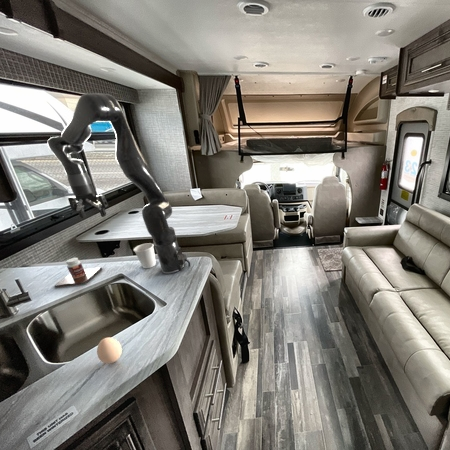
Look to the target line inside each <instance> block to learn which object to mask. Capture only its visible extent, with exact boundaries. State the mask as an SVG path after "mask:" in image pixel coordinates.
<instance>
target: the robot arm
mask: <svg viewBox="0 0 450 450" xmlns="http://www.w3.org/2000/svg"><path fill="white" fill-rule="evenodd" d="M97 122H99V123H102V122H103V123H105V122H109V124H110V125H111V127H112V129H113V131H114V134H115V138H116V139H115V153H114V154H115V160H116V162H117V164H118V166H119V167H120V169H121V171H122V173H123V174H124V176H125V177H126V178H127V179H128V180H129V181H130V182H131V183H132V184H134V185H135V186H136V187H137V188H138V189H140V190H141V192H142V193H143V194H144V196H145V198H146V199H147V202H148V204H146V205H145V206H143V207H142V209H141V210H142V211H141V216H142V219H143V222H144V225H145V228H146V230H147V232H148V234H149V235H150V236H151V239H152V242H153V245H154V246H153V247H154V250H155V252H156V255H157V258H158V261H159V265H160V269H161V272H162V274H166V275H169V274H175V273H177V272H181V271H182V270H183V268H184V267H185V265H186V262H187V264H188V265H187V267H188V268H191V262H190V260H189V259H188V258H187V253H183V250H182V248H181V246H179V243H178V239H177V234H176V231H175V228H174V227H173V226H169V224H168V221H167V220H168V219H169V218H170V217H172V214H173V207H172V205H171V203H170V201H169V200H168V198H167V197H166V195H165V194H164V192H163V191H162V189H161V187H160V186H159V184H158V182H157V180H156V177H155V176H154V175H153V173H152V171H151V168H150V167H149V164H148V162H147V160H146V158H145V156H144V155H143V153H142V151H141V149H140V147H139V145H138V144H137V141H136V139H135V137H134V135H133V133H132V131H131V128H130V126H129V123H128V121H127V118H126V116H125V113H124V111H123V109H122V106H121V105H120V103H119V101H118V100H117V99H116V98H115V96H114V95H111V94H110V93H92V92H91V93H85V94H82V95H81V96H80V97H79V98H78V100H77V103H76V106H75V109H74V111H73V114H72V117H71V119H70V122H69V123H68V124H67V125H66V127H65V128H64V129H63V130H62V132H61V136H52V137H50V138H49V139H48V140H47V146H48V149H49V150H50V151H51V152H52V153H53V155H54V156H55V158H56V159H57V160H58V161H59V163H60V164H61V165H62V167H63V170H64V173H65V174H66V177H67V181H68V184H69V186H70V188H71V191H72V193H73V195H74V196H69V197H68V198H67V201H68V203H69V206H70V209H71V210H72V211H77V213H78V215H79V218H81V219H86V218H87V214H86V212H85V210H84V208H85V207H86V206H93V207H95V208H97V209H98V211H99V214H100V217H102V218H104V217H106V215H107V212H106V209H105V208H107V207H109V203H108V201H107V199H106V197H105V195H104V194H103V193H102V194H100V195H99V194H98V195H97V194H96V190H95V188H94V185H93V182H92V180H91V177H90V175H89V173H88V171H87V168H86V166H85V163H84V161H83V160H82V159H79V158H78V159H77V158H71V157H70V156H69V155H72V154H73V155H74V154H79V153H81V152H82V151H83V150H84V145H85V142H86V141H88V139H89V138H90V137H91V135H92V128H91V126H92V125H93V124H95V123H97ZM77 202H78V203H77Z"/></svg>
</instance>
